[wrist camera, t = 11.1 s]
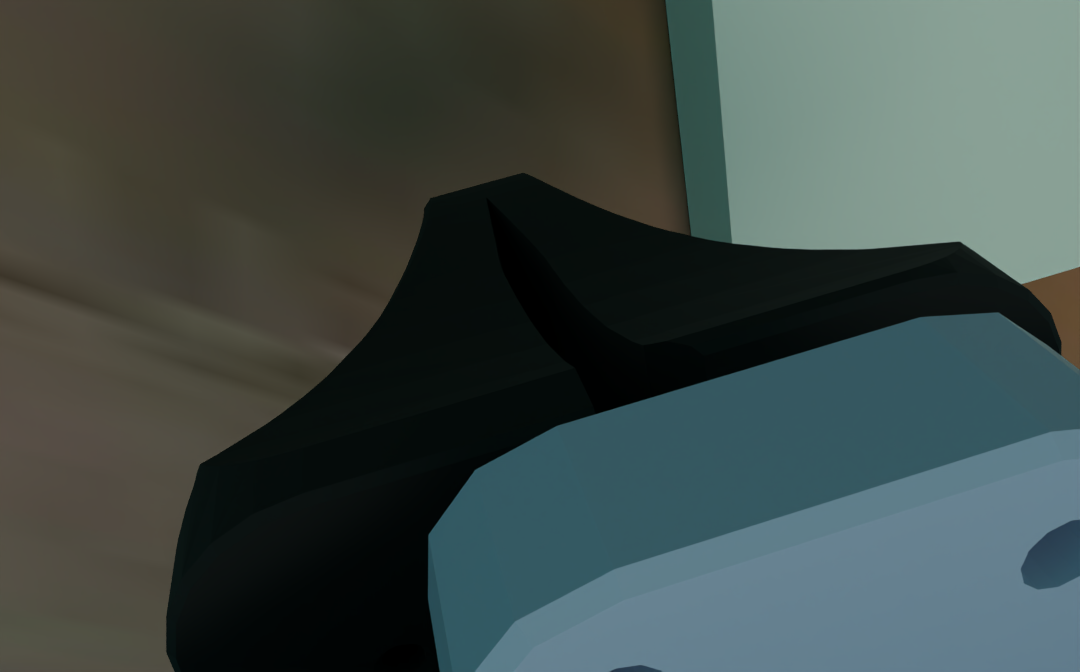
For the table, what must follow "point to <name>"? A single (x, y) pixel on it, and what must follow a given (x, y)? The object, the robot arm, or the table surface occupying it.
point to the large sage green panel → (883, 125)
